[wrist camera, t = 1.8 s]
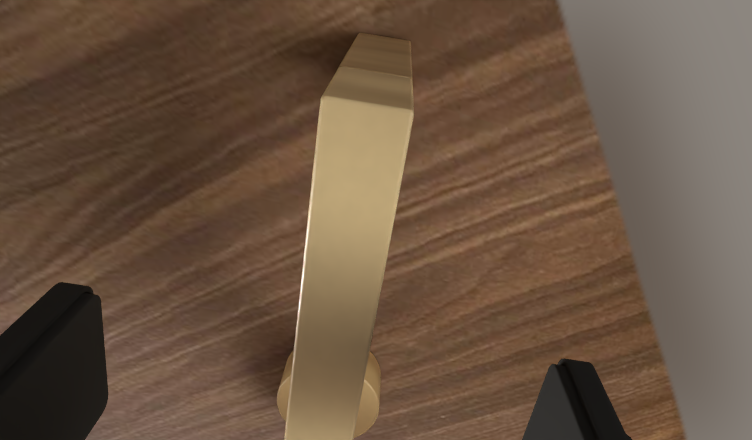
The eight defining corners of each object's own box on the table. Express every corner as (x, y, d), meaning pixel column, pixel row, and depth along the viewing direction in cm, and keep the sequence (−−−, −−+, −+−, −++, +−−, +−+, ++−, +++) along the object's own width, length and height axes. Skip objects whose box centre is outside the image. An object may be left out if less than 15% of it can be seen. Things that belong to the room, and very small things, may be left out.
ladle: (320, 25, 18) (252, 84, 10) (449, 47, 18) (482, 122, 10) (282, 400, 26) (226, 604, 18) (373, 414, 26) (358, 623, 18)
